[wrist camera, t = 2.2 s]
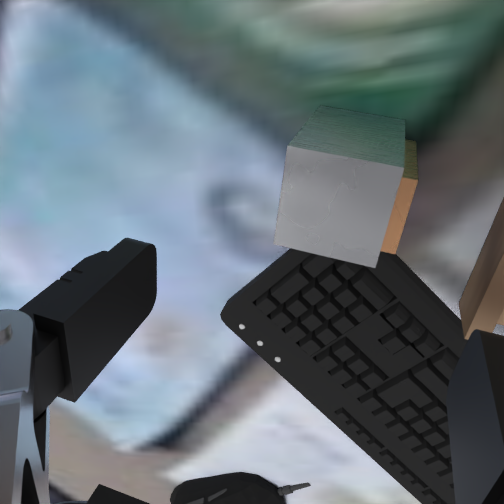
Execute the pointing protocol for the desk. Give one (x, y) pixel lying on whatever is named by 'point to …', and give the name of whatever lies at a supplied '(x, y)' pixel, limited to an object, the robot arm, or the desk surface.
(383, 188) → the gray metallic block
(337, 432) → the desk surface
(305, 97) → the desk surface
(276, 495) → the gaming mouse
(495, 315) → the rail
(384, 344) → the keyboard
